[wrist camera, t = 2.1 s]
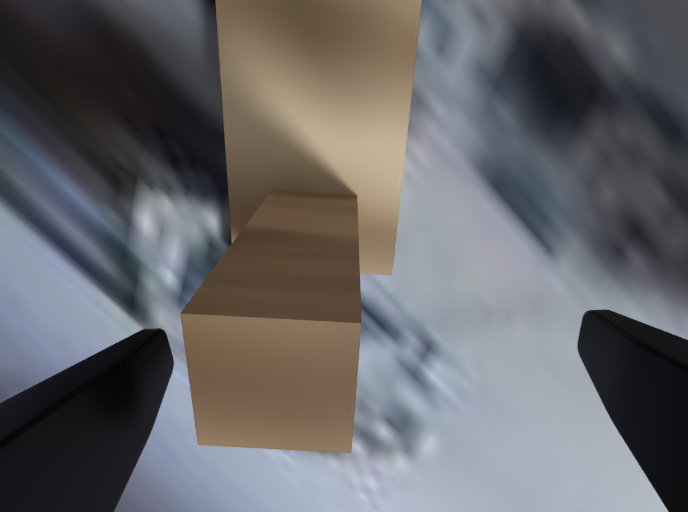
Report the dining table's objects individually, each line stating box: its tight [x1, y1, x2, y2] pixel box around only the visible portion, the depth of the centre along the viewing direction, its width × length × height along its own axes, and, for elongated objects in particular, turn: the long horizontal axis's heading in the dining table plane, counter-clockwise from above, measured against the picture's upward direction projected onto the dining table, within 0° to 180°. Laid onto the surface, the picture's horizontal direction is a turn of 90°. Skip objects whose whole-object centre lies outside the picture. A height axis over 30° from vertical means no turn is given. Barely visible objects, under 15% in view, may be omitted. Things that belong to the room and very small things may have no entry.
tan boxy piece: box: [180, 0, 422, 453], centre depth 9 cm, size 15×6×9 cm, turn 177°
